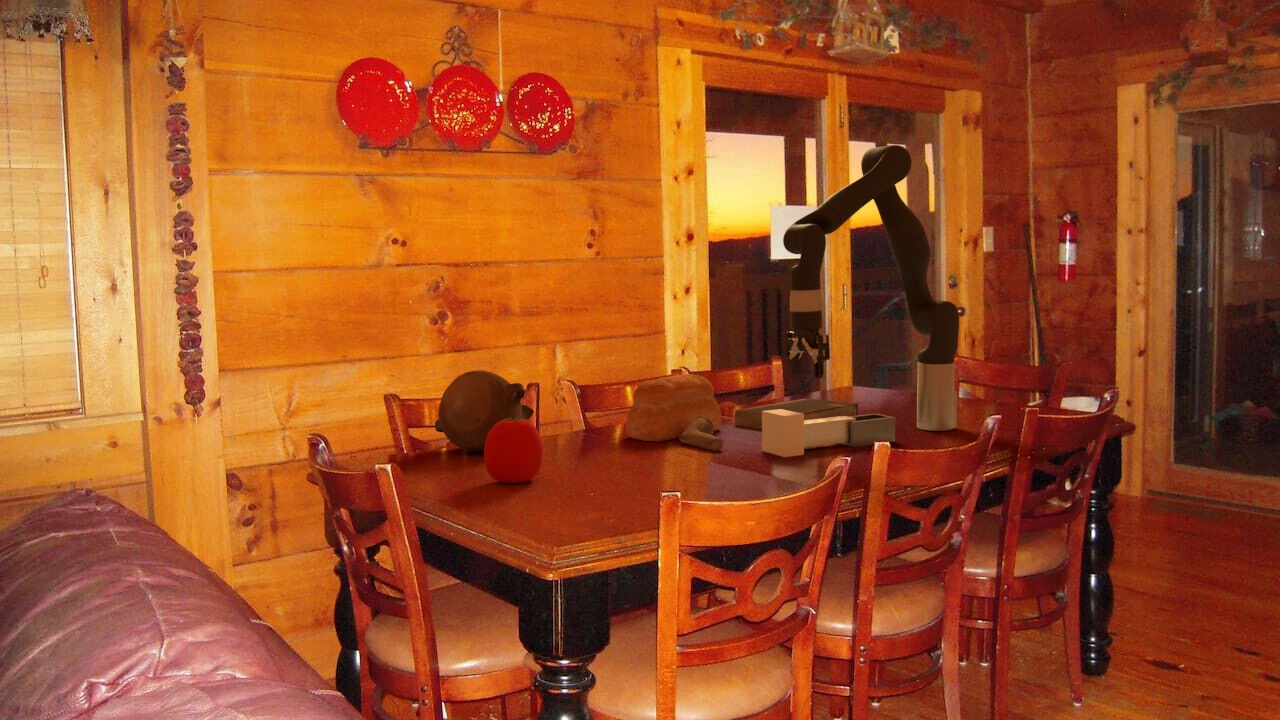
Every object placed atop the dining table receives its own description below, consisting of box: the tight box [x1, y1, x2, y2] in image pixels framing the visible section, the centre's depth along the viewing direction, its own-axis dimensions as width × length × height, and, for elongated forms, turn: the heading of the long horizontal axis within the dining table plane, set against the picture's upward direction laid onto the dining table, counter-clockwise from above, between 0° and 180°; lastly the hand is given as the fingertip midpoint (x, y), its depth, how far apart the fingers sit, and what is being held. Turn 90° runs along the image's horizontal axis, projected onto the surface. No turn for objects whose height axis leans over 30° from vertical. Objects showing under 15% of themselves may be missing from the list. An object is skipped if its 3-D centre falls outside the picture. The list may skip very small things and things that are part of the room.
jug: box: [434, 370, 535, 453], centre depth 262 cm, size 20×20×30 cm
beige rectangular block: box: [804, 416, 856, 449], centre depth 253 cm, size 20×5×6 cm, turn 118°
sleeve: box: [837, 413, 896, 448], centre depth 260 cm, size 13×7×6 cm, turn 118°
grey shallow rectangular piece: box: [734, 397, 859, 430], centre depth 291 cm, size 29×19×5 cm, turn 131°
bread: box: [625, 373, 722, 443], centre depth 276 cm, size 14×26×15 cm, turn 134°
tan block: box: [761, 409, 805, 458], centre depth 249 cm, size 6×9×10 cm, turn 28°
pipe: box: [678, 416, 724, 452], centre depth 261 cm, size 6×17×10 cm
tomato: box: [483, 415, 544, 484], centre depth 223 cm, size 13×11×14 cm
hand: (807, 376), depth 256 cm, fingers open, 8 cm apart
